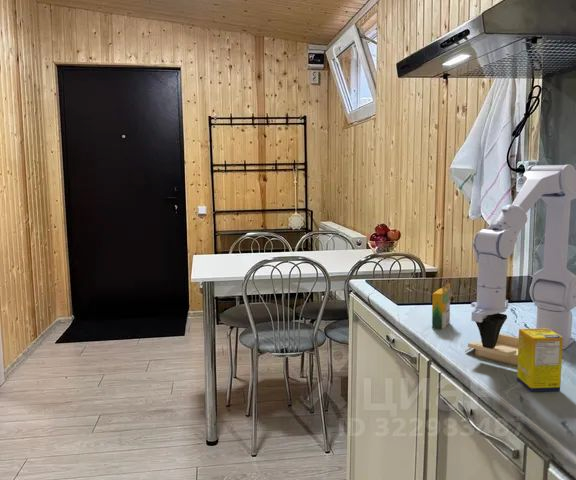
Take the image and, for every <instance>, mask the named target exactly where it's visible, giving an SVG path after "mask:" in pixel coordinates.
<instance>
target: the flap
mask: <svg viewBox="0 0 576 480" xmlns="http://www.w3.org/2000/svg"><path fill="white" fill-rule="evenodd" d="M467 348H472V349H478V350H482V351H486V352H491V353H495V354H499V355H503V356H511V355H514V354H516V350H512V349H508V348H504V347H499V346H495V348H493V349H489V348H485V347H483V345H482V343H481V341H474V342H469V343H467Z"/></svg>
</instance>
